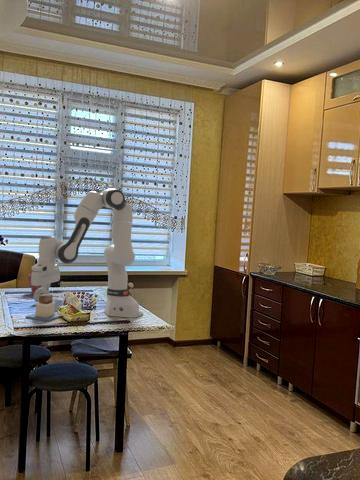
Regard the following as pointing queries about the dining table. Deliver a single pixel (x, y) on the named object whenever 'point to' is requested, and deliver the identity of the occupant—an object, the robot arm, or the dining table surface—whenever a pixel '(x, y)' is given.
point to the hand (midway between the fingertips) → (45, 291)
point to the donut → (38, 292)
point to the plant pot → (34, 286)
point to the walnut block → (45, 298)
